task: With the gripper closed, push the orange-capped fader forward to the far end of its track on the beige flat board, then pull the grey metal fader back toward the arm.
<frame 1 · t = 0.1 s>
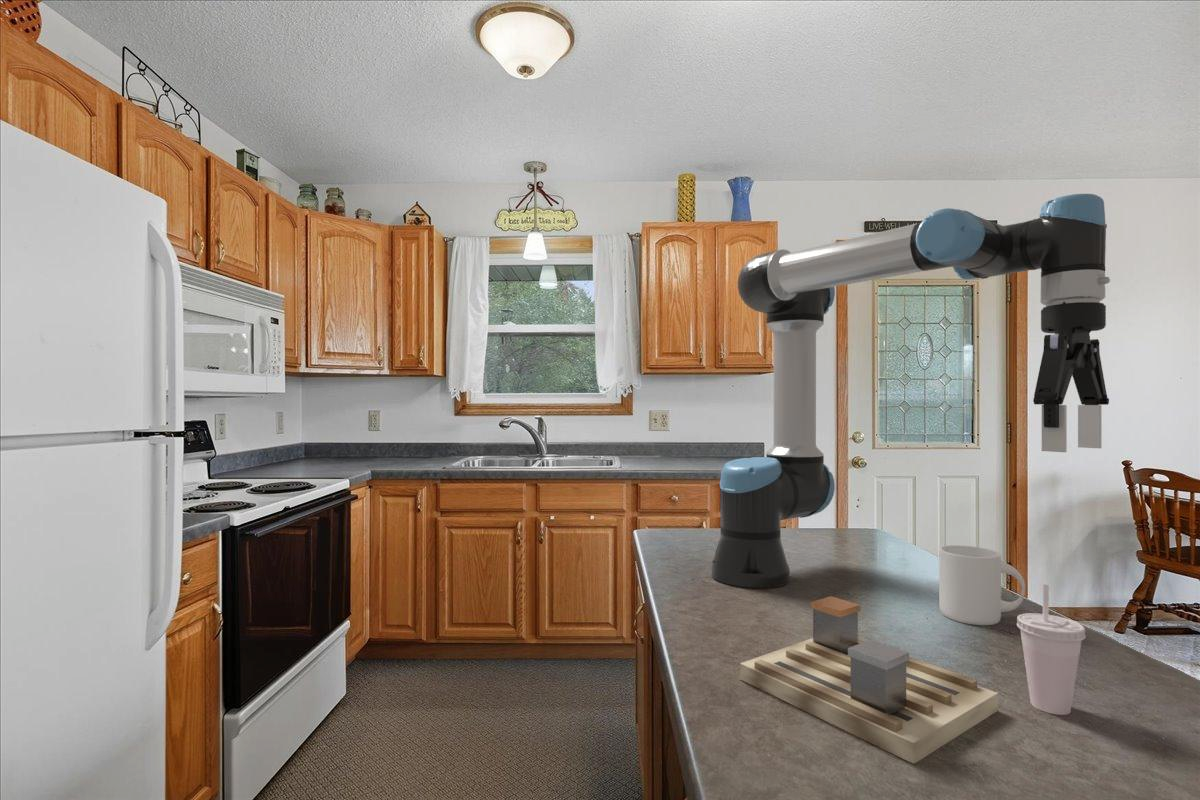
hand: (1072, 449, 90), 28 cm above the countertop, fingers open, 13 cm apart
smoothie: (1050, 708, 70), on the countertop
fader a: (835, 625, 82), point 5 cm above the countertop, slide at 0.0 cm
fader b: (878, 677, 66), point 5 cm above the countertop, slide at 12.0 cm
beige flat board: (862, 694, 73), on the countertop
mug: (981, 619, 100), on the countertop
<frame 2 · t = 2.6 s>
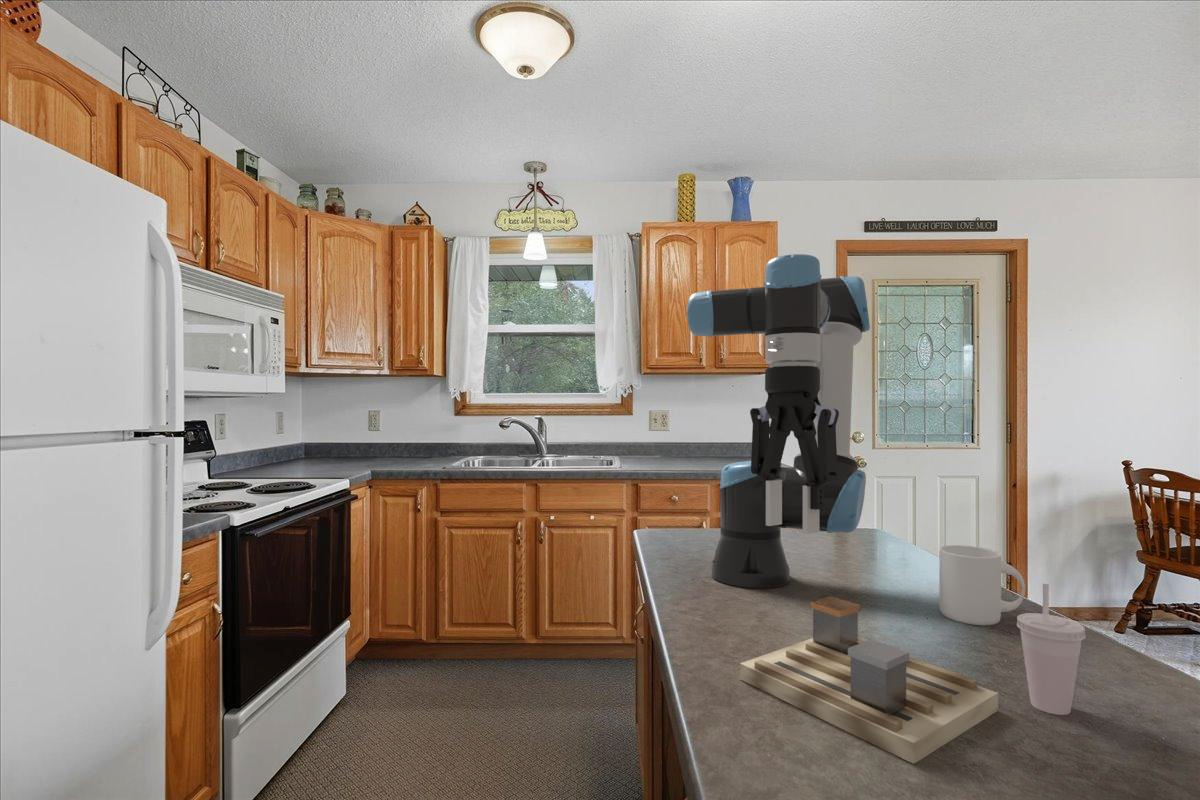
hand: (791, 528, 88), 17 cm above the countertop, fingers open, 6 cm apart
nothing on the countertop moved.
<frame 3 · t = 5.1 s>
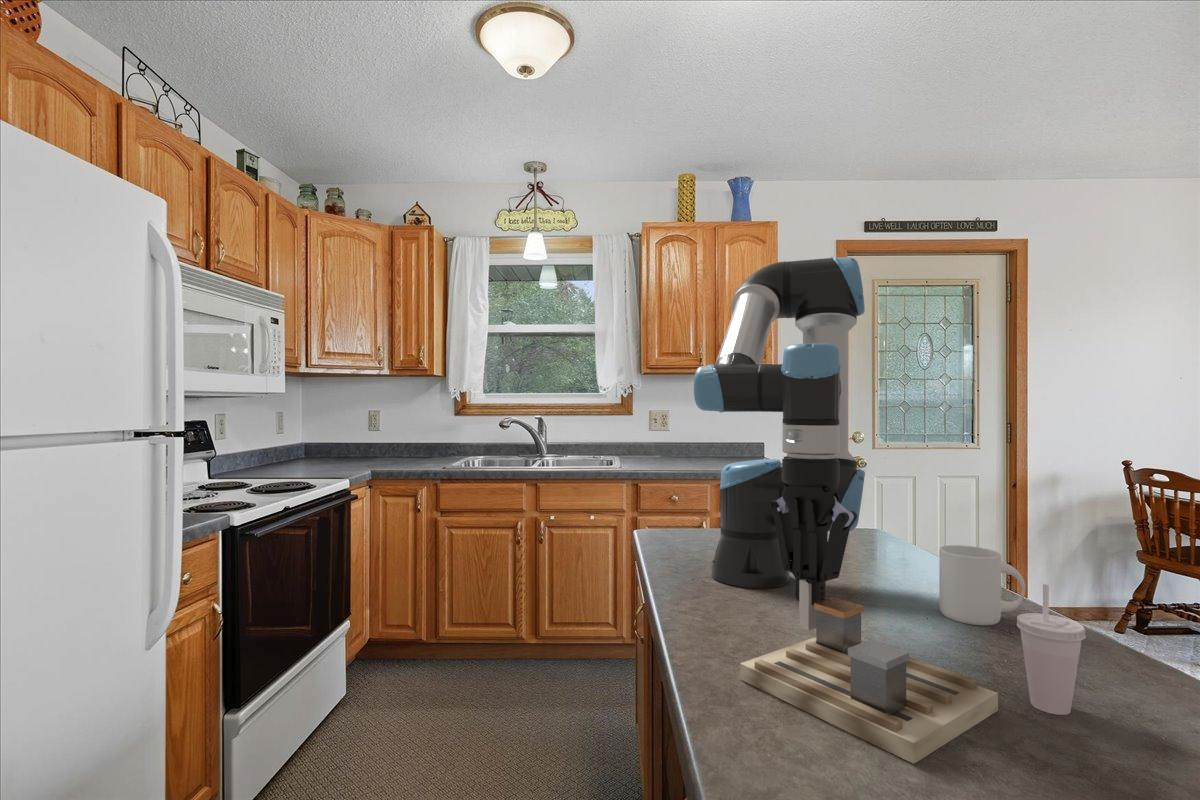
hand: (810, 626, 85), 4 cm above the countertop, fingers closed
fader a: (838, 626, 82), point 5 cm above the countertop, slide at 0.5 cm, touching gripper
everything else where it was.
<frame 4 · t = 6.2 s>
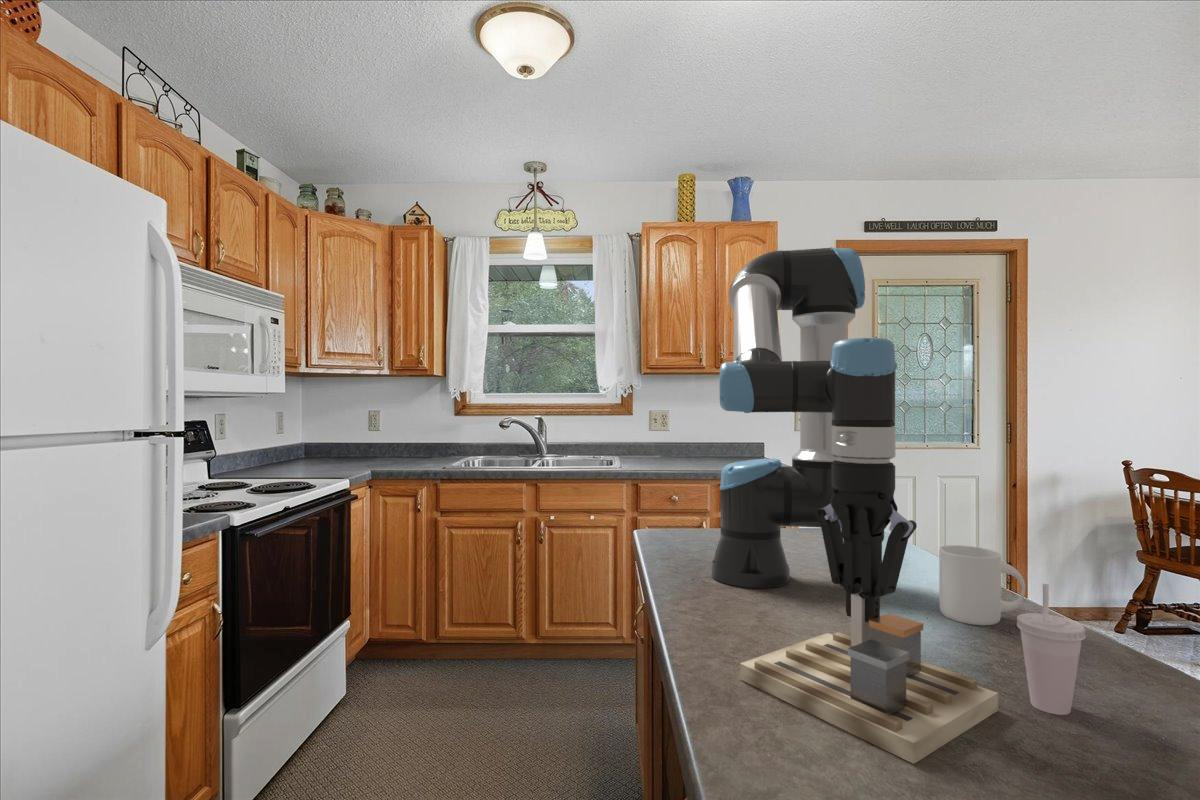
hand: (862, 645, 78), 4 cm above the countertop, fingers closed
fader a: (895, 645, 75), point 5 cm above the countertop, slide at 8.4 cm, touching gripper
everything else where it was.
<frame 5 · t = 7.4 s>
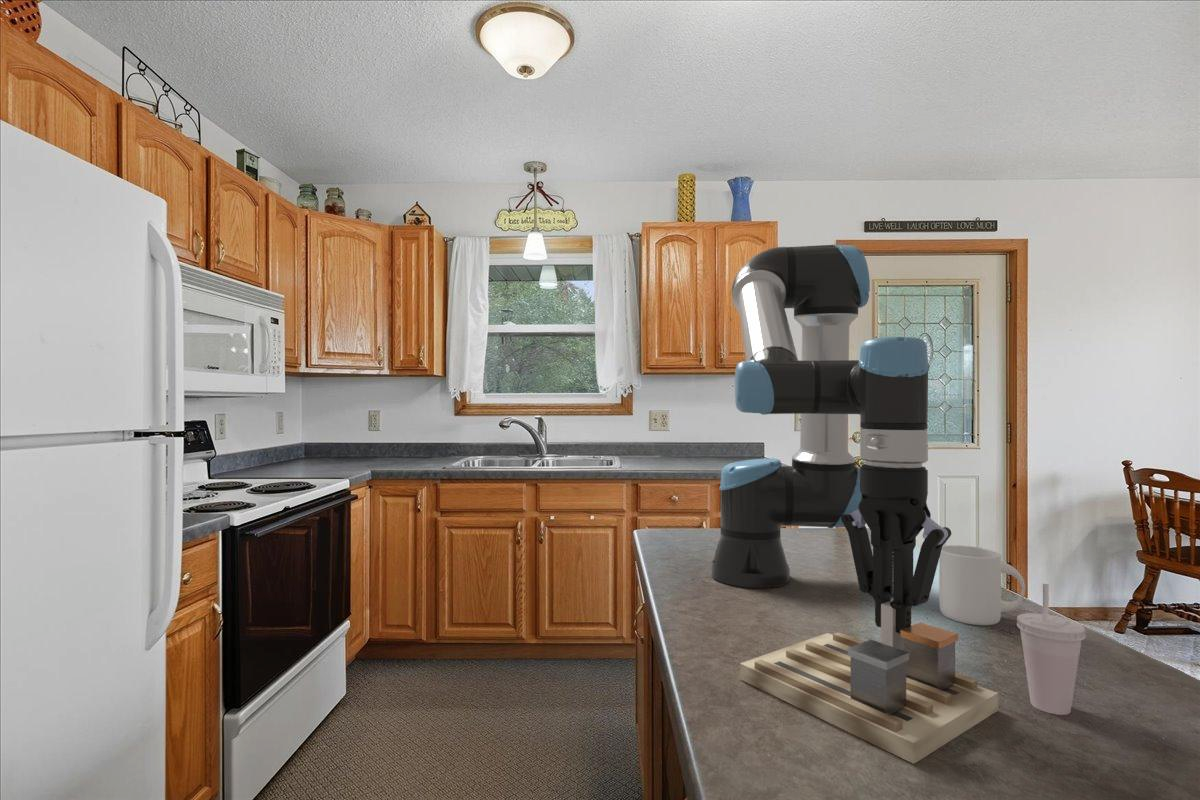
hand: (892, 656, 75), 4 cm above the countertop, fingers closed
fader a: (928, 656, 72), point 5 cm above the countertop, slide at 12.3 cm, touching gripper
everything else where it was.
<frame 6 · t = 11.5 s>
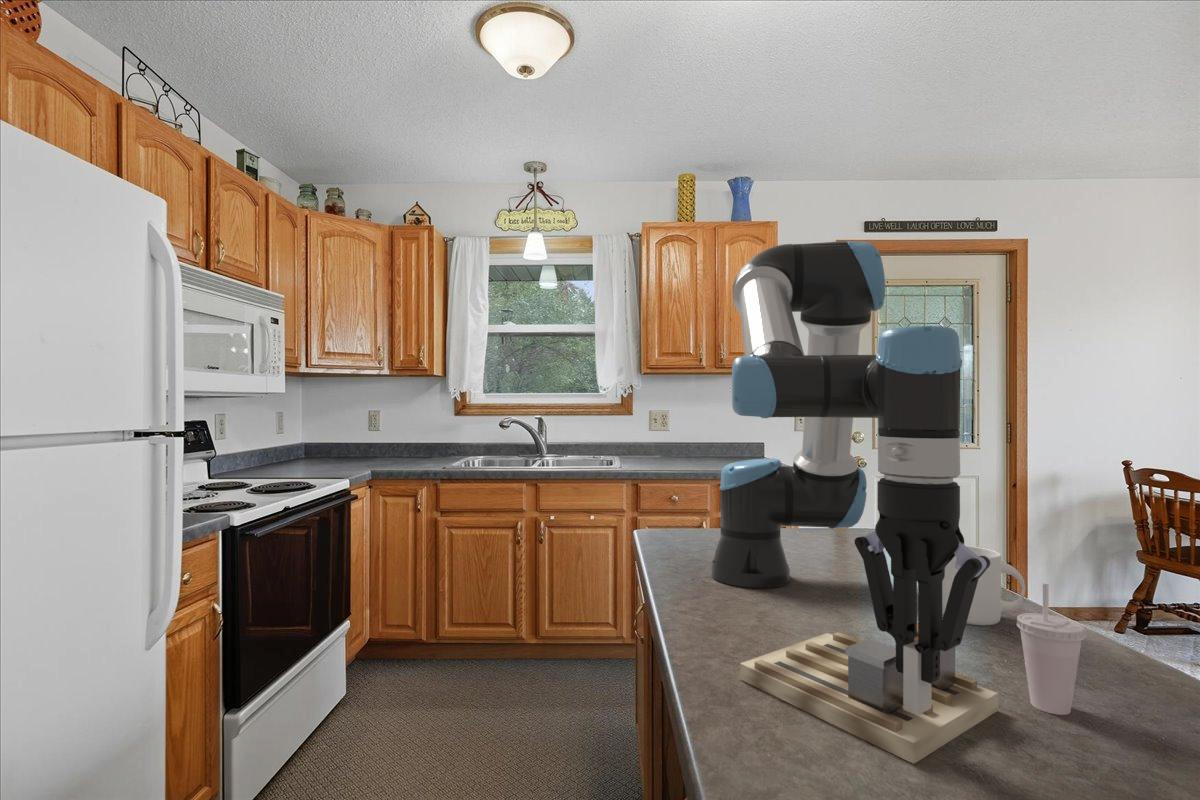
hand: (917, 708, 63), 3 cm above the countertop, fingers closed
fader a: (928, 656, 72), point 5 cm above the countertop, slide at 12.3 cm
fader b: (875, 676, 67), point 5 cm above the countertop, slide at 11.7 cm, touching gripper
everything else where it was.
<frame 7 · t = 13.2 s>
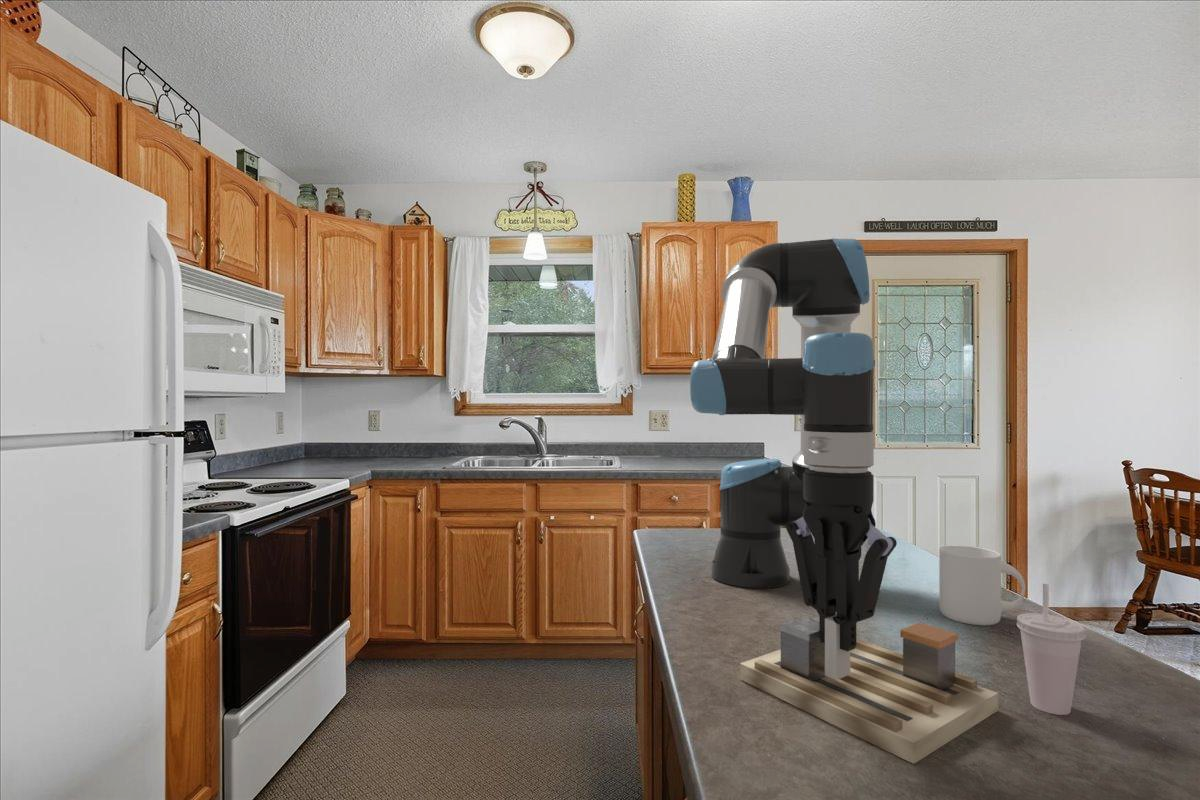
hand: (837, 674, 70), 4 cm above the countertop, fingers closed
fader b: (805, 648, 74), point 5 cm above the countertop, slide at 2.7 cm, touching gripper
everything else where it was.
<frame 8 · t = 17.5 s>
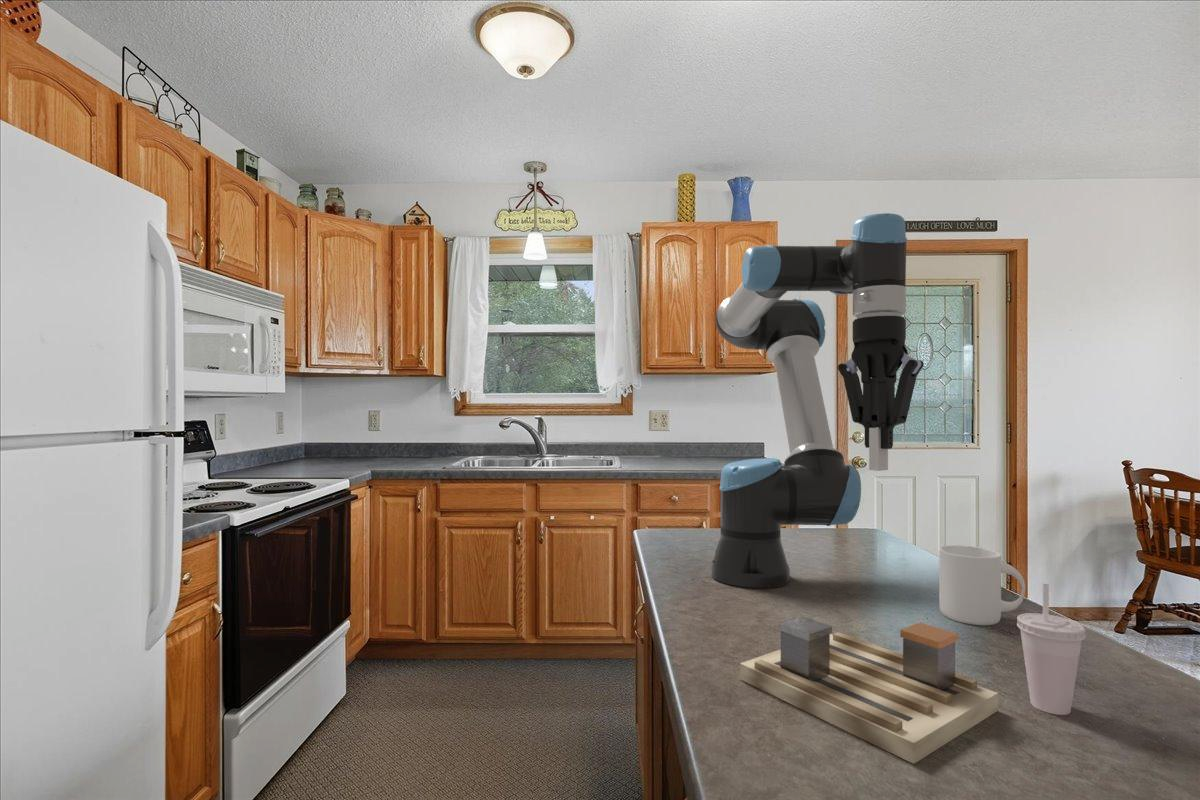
hand: (878, 469, 95), 24 cm above the countertop, fingers closed
fader b: (804, 648, 74), point 5 cm above the countertop, slide at 2.7 cm
everything else where it was.
at the end: fader a slide at 12.3 cm; fader b slide at 2.7 cm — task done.
